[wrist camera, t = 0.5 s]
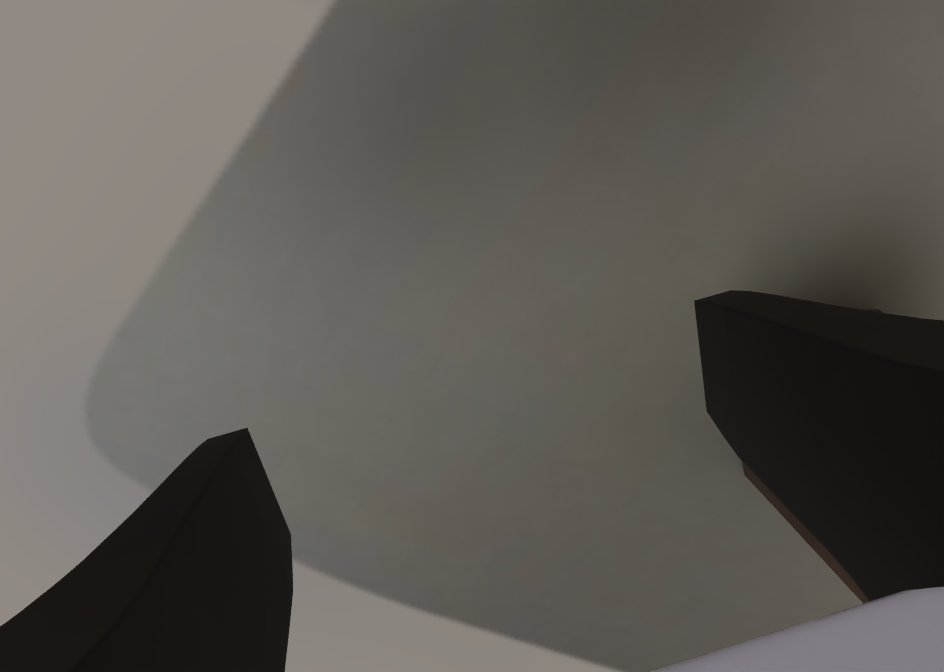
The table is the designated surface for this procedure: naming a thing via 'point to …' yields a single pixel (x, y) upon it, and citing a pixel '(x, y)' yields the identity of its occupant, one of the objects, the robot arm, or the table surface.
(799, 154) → the table surface
